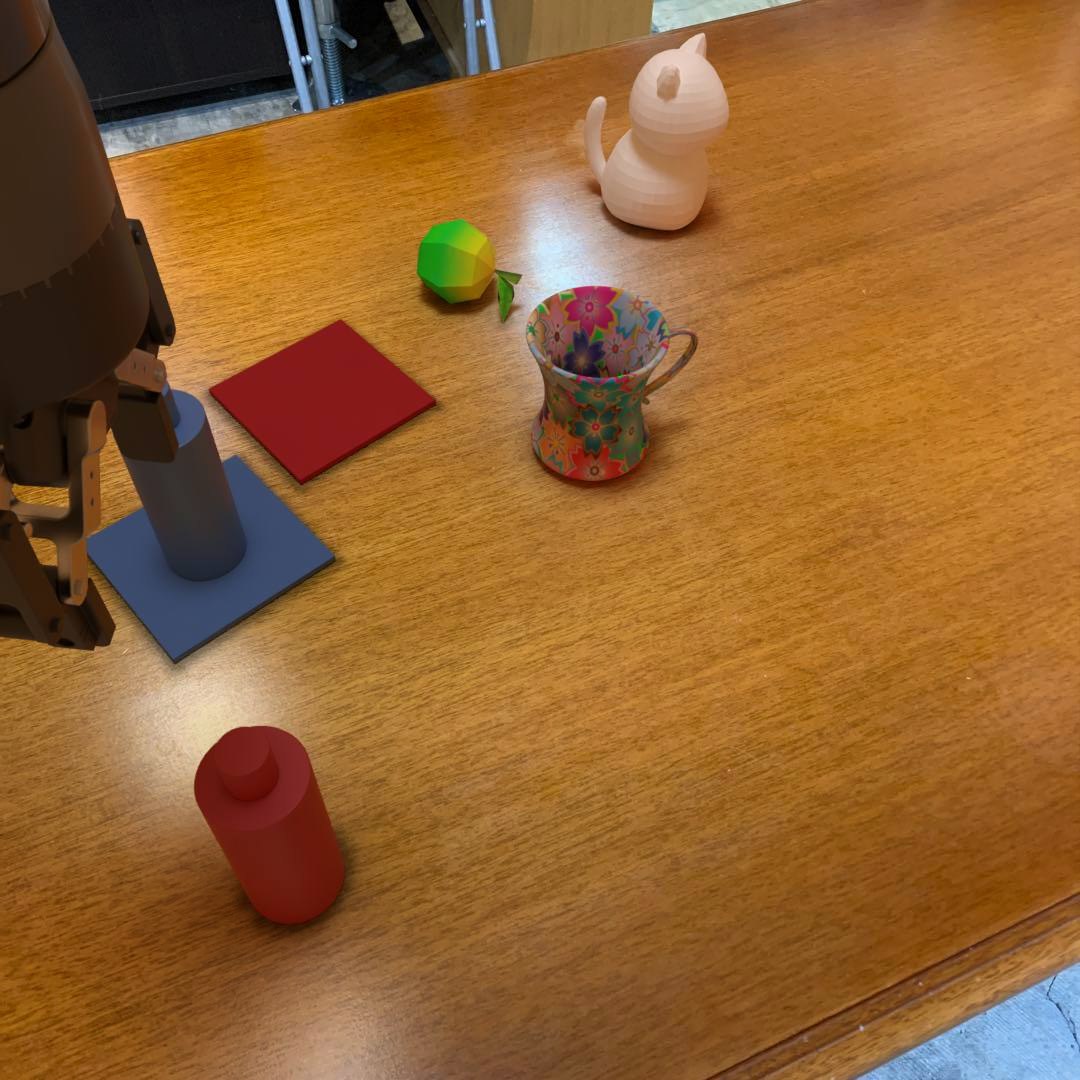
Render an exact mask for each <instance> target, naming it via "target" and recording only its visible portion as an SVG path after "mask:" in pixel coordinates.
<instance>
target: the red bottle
mask: <svg viewBox="0 0 1080 1080" xmlns="http://www.w3.org/2000/svg"><path fill="white" fill-rule="evenodd" d="M307 751H308V750H307V749H306V747H305V746H304V745H303V743H302V741H300V740H299V739H298V738H297V737H296V736H294V735H293V734H292V733H291V732H288V731H287V730H284V729H282V728H279V727H275V726H272V725H251V726H245V725H244V726H238V727H235V728H232V729H230V730H229V731H226V732H225V733H224V734H222V736H221V737H219V739H218V740H217V741H215V742H214V744H213V745H212V746H211V747H210V748H209V749H208V750H207V752H206V753H205V754H204V755H203V757H202V758H201V760H200V762H199V764H198V766H197V768H196V772H195V774H194V775H195V776H194V780H193V793H194V794H193V795H194V798H195V803H196V804H197V808H198V809H199V811H200V812H201V814H202V817H203V818H204V820H205V822H206V823H207V825H208V827H209V829H210V831H211V832H212V834H213V836H214V838H215V840H216V842H217V843H218V845H219V847H220V849H221V851H222V853H223V855H224V856H225V858H226V859H227V861H228V863H229V865H230V867H231V869H232V871H233V873H234V874H235V876H236V878H237V879H238V882H239V883H240V885H241V887H242V888H243V890H244V892H245V894H246V896H247V897H248V900H249V901H250V903H251V904H252V906H253V908H254V909H255V910H256V911H257V912H258V913H259V914H260V915H261V916H262V917H264V918H265V919H267V920H269V921H271V922H273V923H277V924H283V925H296V924H301V923H305V922H307V921H310V920H312V919H314V918H316V917H318V916H320V915H321V914H323V913H324V912H325V911H327V910H328V908H330V907H331V906H332V904H333V903H334V902H335V900H336V899H337V897H338V895H339V894H340V892H341V889H342V886H343V883H344V879H345V871H346V870H345V861H344V858H343V855H342V852H341V851H342V850H341V849H340V846H339V843H338V840H337V836H336V834H335V831H334V827H333V825H332V822H331V819H330V816H329V813H328V810H327V807H326V804H325V801H324V798H323V795H322V792H321V789H320V786H319V783H318V780H317V777H316V774H315V771H314V769H313V765H312V761H311V759H310V756H309V754H308V753H309V752H307Z"/></svg>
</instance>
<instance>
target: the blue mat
mask: <svg viewBox="0 0 1080 1080" xmlns="http://www.w3.org/2000/svg"><path fill="white" fill-rule="evenodd" d="M221 462H222V465H223V468H224V471H225V474H226V477H227V481H228V484H229V487H230V490H231V493H232V496H233V499H234V502H235V505H236V508H237V512H238V515H239V518H240V521H241V524H242V527H243V530H244V533H245V536H246V541H247V546H246V551H245V554H244V556H243V558H242V559H241V561H240V562H239V563H238V565H237V566H236V567H234V568H233V569H232V570H231V571H229V572H228V573H226V574H224V575H222V576H220V577H217V578H214V579H210V580H202V581H197V580H190V579H186V578H183V577H181V576H179V575H177V574H176V573H175V572H173V571H172V570H171V568H170V567H169V565H168V563H167V561H166V559H165V556H164V554H163V551H162V549H161V547H160V544H159V542H158V540H157V537H156V535H155V533H154V530H153V528H152V526H151V523H150V521H149V519H148V516H147V514H146V512H145V509H144V507H143V506H142V507H141V508H139V509H137V510H135V511H133V512H132V513H130V514H128V515H126V516H124V517H122V518H120V519H119V520H118V521H116V522H114V523H112V524H110V525H107V527H105V528H103V529H101V530H99V531H98V532H96V533H94V534H92V535H91V536H89V537H87V557H89V559H90V560H91V561H92V562H93V564H94V565H95V566H96V568H97V569H98V570H99V571H100V572H101V574H102V575H103V576H104V578H106V580H107V581H108V583H109V584H110V585H111V586H112V587H113V588H114V590H115V591H116V593H118V594H119V596H120V597H121V598H122V600H123V601H124V602H125V603H126V605H127V606H128V607H129V608H130V609H131V611H132V612H133V613H134V615H135V616H136V617H137V618H138V620H139V622H141V623H142V625H143V626H144V627H145V629H146V630H147V631H148V632H149V633H150V635H152V637H153V638H154V640H155V641H156V642H157V644H159V646H160V647H161V649H162V650H164V652H165V653H166V654H167V655H168V657H169V658H170V659H171V660H172V662H173V663H175V664H176V663H178V662H180V661H181V660H183V659H184V658H185V657H187V656H189V655H190V654H192V653H193V652H195V651H197V650H199V648H201V647H203V646H204V645H207V644H208V643H209V642H210V641H212V640H213V639H215V638H217V637H218V636H220V635H222V634H223V633H225V632H226V631H228V630H229V629H231V628H232V627H234V626H236V625H237V624H238V623H240V622H242V621H243V620H245V619H247V618H249V617H250V616H252V614H254V613H256V612H257V611H259V610H260V609H262V608H264V607H265V606H267V605H269V604H270V603H271V602H273V601H274V600H276V599H277V598H279V597H281V596H282V595H284V594H286V593H287V592H289V591H290V590H292V589H293V588H295V587H296V586H298V585H300V584H301V583H303V582H304V581H306V580H307V579H308V578H311V577H312V576H313V575H315V574H316V573H318V572H319V571H321V570H322V569H324V568H326V567H327V566H329V565H330V564H332V563H334V562H335V561H337V559H336V556H335V554H334V553H333V552H332V551H331V550H330V549H329V548H328V547H327V546H326V545H325V544H324V543H323V541H321V540H320V539H319V538H318V537H317V536H316V534H315V533H314V532H312V531H311V529H310V528H309V527H307V525H306V524H304V523H303V522H302V520H301V519H300V518H299V517H298V516H297V515H296V514H295V513H294V512H293V511H292V510H291V509H290V508H289V507H288V506H287V505H286V504H285V503H284V502H283V501H282V500H281V498H279V497H278V496H277V495H276V493H274V491H272V490H271V489H270V487H268V486H267V484H266V483H265V482H263V480H261V479H260V477H259V476H258V475H257V474H256V473H255V472H254V471H253V470H252V469H251V468H250V467H249V466H248V464H246V463H245V462H244V461H243V460H242V459H241V458H240V457H239V456H238V454H234V455H232V456H230V457H229V458H227V459H225V460H223V461H221Z"/></svg>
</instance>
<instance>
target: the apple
mask: <svg viewBox="0 0 1080 1080" xmlns="http://www.w3.org/2000/svg"><path fill="white" fill-rule="evenodd" d="M416 264H417V265H416V274H417V276H418V277H419V278H420V280H421V281H422V282H423V284H424V285H425V286H426V287H427V288H429V289H430V290H431V291H432V292H434V293H436V294H437V295H438V296H439V297H441V298H442V299H443V300H445V301H446V302H448V304H450V305H451V304H456V303H462V302H467V301H472V300H477V299H480V298H481V297H482V295H483V294H484V293H485V290H486V289H487V287H488V286H489V285H490V283H491V282H492V279H493V277H494V274H496V275H497V286H496V287H497V288H496V290H497V303H498V307H499V312H500V316H501V320H502V324H504V323H505V320H506V318H507V315H508V313H509V310H510V309H511V305H512V304H513V301H514V299H515V288H514V287H515V286H516V285H519V282H520V280H521V279H522V277H523V274H521V273H517V272H511V271H505V270H501V269H496V249H495V248H494V246H493V243H492V241H491V240H490V239H489V237H488V236H486V235H485V234H484V233H482V232H481V231H480V230H479V229H477V228H476V227H474V226H473V225H472V224H470V223H469V222H467V221H466V220H465V219H464V218H460V219H456V220H451V221H447V222H443V223H442V222H441V223H437V224H433V225H432V226H431V228H430V229H429V230H428V232H427V233H426V234H425V236H424V237H423V238H422V240H421V241H420V242H419V248H418V252H417V263H416ZM514 285H515V286H514Z"/></svg>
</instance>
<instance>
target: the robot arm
mask: <svg viewBox="0 0 1080 1080" xmlns="http://www.w3.org/2000/svg"><path fill="white" fill-rule="evenodd" d="M176 334H177V327H176V320H175V317H174V314H173V312H172V308H171V306H170V303H169V299H168V297H167V293H166V291H165V288H164V284H163V282H162V279H161V276H160V273H159V269H158V266H157V263H156V260H155V258H154V254H153V252H152V249H151V246H150V243H149V240H148V236H147V234H146V231H145V228H144V225H143V222H142V220H140V219H138V218H130V217H127V216H126V212H125V209H124V206H123V201H122V199H121V195H120V193H119V190H118V186H117V183H116V180H115V177H114V174H113V171H112V168H111V165H110V161H109V158H108V155H107V151H106V148H105V144H104V141H103V138H102V135H101V131H100V129H99V126H98V122H97V118H96V116H95V112H94V109H93V107H92V104H91V100H90V98H89V95H88V92H87V90H86V87H85V84H84V82H83V80H82V77H81V75H80V73H79V70H78V68H77V66H76V64H75V62H74V60H73V58H72V56H71V54H70V52H69V49H68V48H67V46H66V44H65V41H64V40H63V37H62V35H61V33H60V31H59V29H58V26H57V23H56V21H55V18H54V15H53V12H52V10H51V8H50V3H49V0H0V638H2V639H3V638H4V639H14V640H22V641H23V640H24V641H33V642H36V643H39V644H47V646H50V647H52V648H53V647H54V648H60V649H68V650H69V649H70V650H79V651H87V652H88V651H90V652H94V651H95V649H96V647H99V648H106V647H110V645H111V643H112V640H113V637H114V635H115V633H116V629H117V625H116V623H115V620H114V619H113V617H112V615H111V613H110V611H109V609H108V607H107V605H106V604H105V602H104V599H103V597H102V595H101V594H100V591H99V590H98V588H97V585H96V584H95V583H94V580H93V578H92V577H89V569H88V567H89V566H88V555H87V538H88V536H89V535H91V534H92V533H94V532H95V531H96V530H98V529H99V527H100V526H101V523H102V501H101V497H102V496H101V495H102V494H101V466H100V465H101V464H100V462H101V461H100V454H101V450H102V449H103V448H104V447H105V446H106V444H107V441H108V439H107V437H108V436H107V435H108V433H109V431H110V430H111V432H113V433H112V436H113V435H114V437H115V439H114V441H115V440H116V441H115V443H116V442H117V444H116V446H117V445H118V446H117V448H118V447H119V449H118V451H119V450H120V451H119V453H120V452H121V453H122V454H123V455H124V456H125V457H127V458H129V459H132V460H139V461H149V462H158V463H171V462H173V461H174V459H175V456H176V454H177V451H178V448H179V443H178V440H177V437H176V434H175V431H174V427H173V424H172V421H171V418H170V415H169V412H168V409H167V406H166V403H165V400H164V397H163V394H162V390H163V389H164V386H165V383H166V380H167V379H168V372H167V367H166V363H165V362H164V361H163V360H161V359H159V358H158V355H159V351H160V346H161V347H162V346H163V347H171V346H173V343H174V340H175V337H176ZM167 381H168V380H167ZM114 437H113V438H114ZM121 453H120V454H121ZM14 485H17V486H19V487H33V488H34V487H37V488H55V489H56V488H57V489H67V488H68V507H67V506H59V505H58V506H57V505H47V504H39V503H37V504H36V503H29V502H24V501H22V500H20V499H19V498H17V496H16V495H15V493H14V491H13V487H14ZM31 538H32V539H33V538H34V539H42V540H49V541H50V542H52V543H53V544H54V545H55V548H56V565H51V564H43V563H41V561H40V560H39V558H38V555H37V554H36V552H35V550H34V548H33V545H32V543H31V542H30V540H29V539H31Z"/></svg>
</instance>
